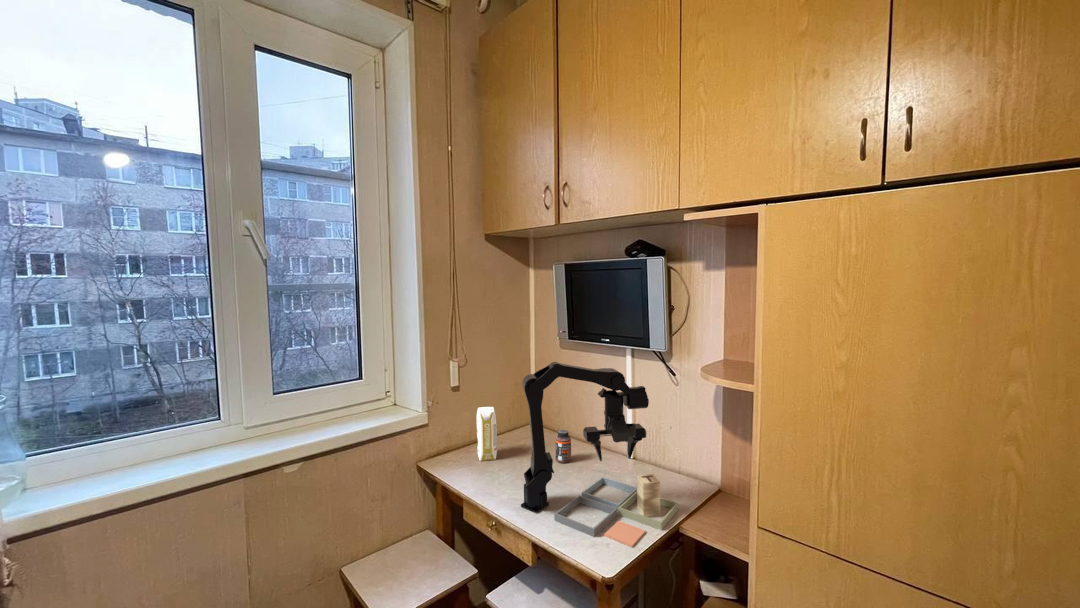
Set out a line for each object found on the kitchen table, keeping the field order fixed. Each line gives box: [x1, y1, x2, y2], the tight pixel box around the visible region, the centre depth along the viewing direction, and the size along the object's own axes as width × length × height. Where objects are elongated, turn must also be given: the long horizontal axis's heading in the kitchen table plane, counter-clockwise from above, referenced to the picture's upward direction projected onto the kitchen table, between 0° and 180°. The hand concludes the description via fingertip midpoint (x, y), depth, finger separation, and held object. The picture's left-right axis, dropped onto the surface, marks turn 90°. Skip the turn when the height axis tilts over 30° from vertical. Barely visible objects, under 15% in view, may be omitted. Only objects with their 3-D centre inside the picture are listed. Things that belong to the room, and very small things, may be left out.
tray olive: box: [617, 491, 680, 531], centre depth 122 cm, size 13×13×2 cm
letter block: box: [636, 473, 661, 518], centre depth 121 cm, size 5×5×10 cm
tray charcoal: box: [553, 494, 618, 538], centre depth 119 cm, size 13×13×2 cm
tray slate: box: [581, 476, 637, 512], centre depth 131 cm, size 13×13×2 cm
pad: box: [604, 520, 646, 548], centre depth 111 cm, size 8×8×1 cm
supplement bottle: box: [555, 429, 572, 464], centre depth 159 cm, size 6×6×11 cm
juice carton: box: [476, 406, 498, 462], centre depth 163 cm, size 8×9×19 cm
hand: (614, 459), depth 130 cm, fingers open, 9 cm apart
